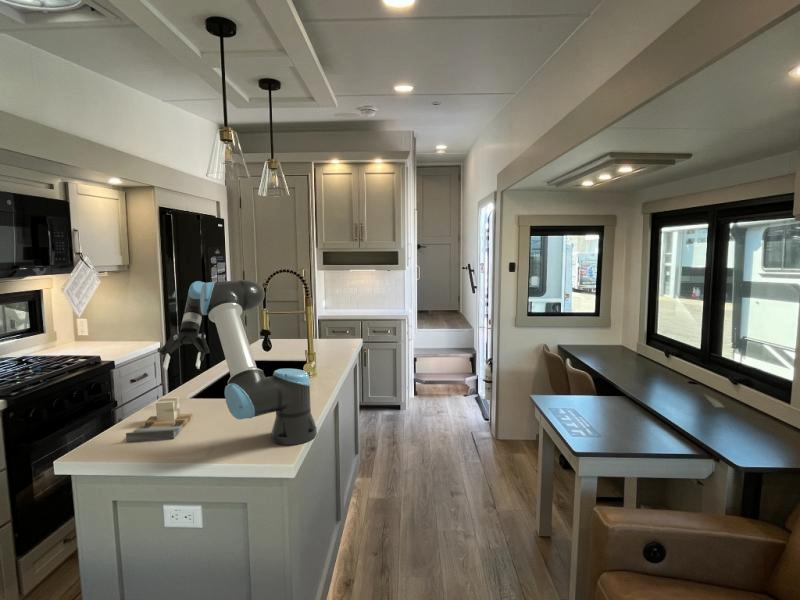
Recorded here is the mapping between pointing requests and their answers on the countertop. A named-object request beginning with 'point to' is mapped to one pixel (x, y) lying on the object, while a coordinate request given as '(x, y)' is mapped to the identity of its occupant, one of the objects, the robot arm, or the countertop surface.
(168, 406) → the ash block
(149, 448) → the countertop surface
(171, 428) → the trap board
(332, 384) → the countertop surface
